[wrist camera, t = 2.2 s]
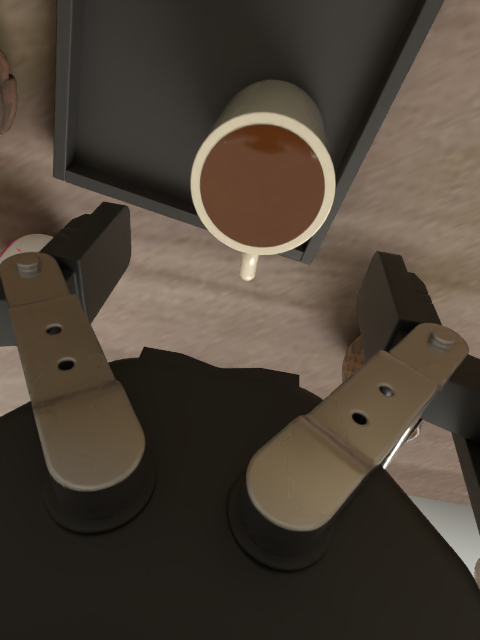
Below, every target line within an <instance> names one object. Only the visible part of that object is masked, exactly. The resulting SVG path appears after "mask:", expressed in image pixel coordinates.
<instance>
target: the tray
mask: <svg viewBox="0 0 480 640" xmlns="http://www.w3.org/2000/svg"><path fill="white" fill-rule="evenodd" d="M443 2H444V0H57V28H56V72H55V117H54V161H53V177H54V178H57V179H60V180H63V181H66V182H68V183H71V184H74V185H77V186H80V187H83V188H86V189H89V190H91V191H94V192H97V193H100V194H103V195H106V196H109V197H112V198H115V199H118V200H121V201H124V202H127V203H129V204H132V205H135V206H138V207H141V208H144V209H147V210H150V211H153V212H156V213H159V214H162V215H165V216H167V217H170V218H173V219H176V220H179V221H182V222H185V223H188V224H191V225H194V226H197V227H200V228H203V229H205V230H208V229H207V228H206V227H205V225H204V224H203V222H202V221H201V219H200V217H199V216H198V214H197V211H196V209H195V207H194V203H193V200H192V195H191V188H190V178H191V170H192V166H193V162H194V159H195V157H196V154H197V152H198V150H199V148H200V146H201V145H202V143H203V142H204V140H205V138H206V137H207V135H208V134H209V132H210V131H211V129H212V127H213V126H214V124H215V123H216V121H217V120H218V118H219V116H220V115H221V113H222V112H223V110H224V109H225V107H226V105H227V104H228V103H229V101H230V100H231V99H232V98H233V97H234V96H235V95H236V94H237V93H238V92H239V91H241V90H242V89H243V88H245V87H247V86H249V85H250V84H253V83H256V82H259V81H264V80H281V81H285V82H289V83H291V84H294V85H296V86H298V87H299V88H301V89H302V90H304V91H305V92H306V93H307V94H308V95H309V96H310V97H311V98H312V99H313V100H314V102H315V103H316V105H317V106H318V108H319V110H320V112H321V115H322V118H323V121H324V125H325V130H326V135H327V139H328V144H329V148H330V153H331V157H332V162H333V167H334V172H335V183H336V186H335V196H334V200H333V204H332V207H331V210H330V212H329V214H328V216H327V218H326V220H325V221H324V223H323V224H322V226H321V227H320V228H319V230H318V231H317V232H316V233H315V234H314V235H313V236H312V237H310V238H309V239H308V240H307V241H305V242H304V243H302V244H301V245H299V246H297V247H295V248H293V249H291V250H288V251H285V252H282V253H278V255H281V256H284V257H287V258H290V259H293V260H296V261H300V262H302V263H305V264H308V265H310V264H311V263H312V261H313V259H314V257H315V255H316V253H317V251H318V249H319V247H320V245H321V243H322V241H323V239H324V237H325V235H326V233H327V231H328V229H329V227H330V225H331V223H332V221H333V219H334V217H335V215H336V213H337V211H338V209H339V207H340V205H341V203H342V201H343V199H344V197H345V195H346V193H347V192H348V190H349V188H350V186H351V184H352V182H353V180H354V178H355V176H356V174H357V172H358V170H359V168H360V166H361V164H362V162H363V160H364V158H365V156H366V154H367V152H368V150H369V148H370V146H371V144H372V142H373V140H374V138H375V136H376V134H377V132H378V130H379V128H380V126H381V124H382V122H383V120H384V119H385V117H386V115H387V113H388V111H389V109H390V107H391V105H392V103H393V101H394V99H395V97H396V95H397V93H398V91H399V89H400V87H401V85H402V83H403V81H404V79H405V77H406V75H407V73H408V71H409V69H410V67H411V65H412V63H413V61H414V59H415V57H416V55H417V53H418V51H419V49H420V48H421V46H422V44H423V42H424V40H425V38H426V36H427V34H428V32H429V30H430V28H431V26H432V24H433V22H434V20H435V18H436V16H437V14H438V12H439V10H440V8H441V6H442V4H443ZM208 231H209V230H208Z"/></svg>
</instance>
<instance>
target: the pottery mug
mask: <svg viewBox="0 0 480 640" xmlns="http://www.w3.org/2000/svg"><path fill="white" fill-rule="evenodd" d="M9 70H10V65H9V62H8V61H7V59H6V57H5V56H4V54H3V53H2V51H1V50H0V137H1V136H2V134H3V133H4V132H7V131H8V130H9V129H10V128H11V126H12V124H13V121H14V118H15V114H16V109H17V101H18V95H17V83H16V79H15V77H14V76H13V75H11V74H9Z"/></svg>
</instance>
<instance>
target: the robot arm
mask: <svg viewBox="0 0 480 640" xmlns="http://www.w3.org/2000/svg"><path fill="white" fill-rule="evenodd" d="M130 258H131V230H130V211H129V208H128V206H125V205H120V204H114V203H108V202H103V203H101V205H100V206H99V207H98V208H97V209H96V210H95V211H94V212H93V213H92V214H91V215H90V214H84V215H82V216H79V217H77V218H75V219H72V220H71V221H70V222H69V223H68V224H67V225H66V226H65V227H64V229H62V230H61V231H60V232H59V233H58V235H56V236H55V237H54V238H53V239H51V240H50V241H49V242H48V243H47V244H46V245H45V246H44V247H43V248H42V249H41V250H40V251H39V252H24V253H19V254H15V255H12V256H10V257H8V258H6V259H5V260H3V261H2V262H1V264H0V346H17V347H18V351H19V355H20V359H21V363H22V367H23V371H24V375H25V379H26V383H27V387H28V391H29V395H30V399H31V401H30V402H28V403H26V404H24V405H22V406H20V407H18V408H17V409H15V410H13V411H11V412H9V413H7V414H5V415H3V416H1V417H0V640H480V558H479V559H478V561H477V563H476V566H475V573H474V574H475V579H474V577H473V576H472V574H471V572H470V571H469V569H468V568H467V566H466V565H465V564H464V562H463V561H462V560H461V558H460V557H459V556H458V555H457V553H456V552H455V551H454V550H453V549H452V547H450V545H449V544H448V543H447V542H446V541H445V539H444V538H443V537H442V536H441V535H440V533H439V532H438V531H437V530H436V529H435V527H434V526H433V525H432V524H431V523H430V522H429V520H428V519H427V518H426V517H425V516H424V515H423V514H422V512H421V511H420V510H419V509H418V507H417V506H416V505H415V504H414V503H413V502H412V501H411V499H410V498H409V497H408V496H407V494H406V493H405V492H404V491H403V490H402V489H401V487H400V486H399V485H398V484H397V483H396V481H395V480H394V479H393V478H392V477H391V476H390V474H389V473H388V472H387V471H386V469H387V467H388V466H389V464H390V463H391V462H392V460H393V459H394V458H395V456H396V455H397V454H398V452H399V451H400V450H401V449H402V447H403V446H404V445H405V443H406V442H407V441H408V440H409V438H410V437H411V436H412V434H413V433H414V432H415V431H416V429H417V428H418V427H419V425H420V424H421V423H422V421H423V420H425V421H427V422H429V423H432V424H434V425H436V426H438V427H441V428H443V429H445V430H448V431H450V432H452V436H453V440H454V443H455V447H456V451H457V454H458V458H459V462H460V465H461V469H462V472H463V476H464V480H465V483H466V487H467V491H468V494H469V498H470V502H471V505H472V509H473V512H474V516H475V519H476V523H477V527H478V530H479V534H480V359H478V358H475V357H473V356H471V355H469V354H468V353H469V348H468V345H467V343H466V342H465V340H464V339H463V338H462V337H461V336H460V335H459V334H457V333H456V332H454V331H453V330H451V329H449V328H447V327H444V326H442V324H441V322H440V319H439V317H438V315H437V312H436V310H435V308H434V305H433V304H431V303H432V301H431V298H430V296H429V295H428V291H427V289H426V287H425V284H424V283H423V282H422V281H421V280H420V279H419V278H418V277H417V276H416V275H415V274H414V273H410V272H407V269H406V267H405V264H404V261H403V259H402V257H401V255H396V254H390V253H385V252H379V251H377V252H376V253H375V254H374V256H373V258H372V260H371V263H370V265H369V268H368V270H367V273H366V276H365V278H364V281H363V283H362V286H361V288H360V291H359V294H358V298H357V315H358V321H359V326H360V332H361V338H362V343H363V349H364V355H365V361H366V363H365V364H363V365H362V366H361V367H360V368H359V369H358V370H357V371H356V372H354V373H353V374H352V375H351V376H350V377H349V378H348V379H347V380H345V381H344V382H343V383H342V384H341V385H340V386H339V387H338V388H336V389H335V390H334V391H333V392H332V393H331V394H330V395H329V396H328V397H326V398H325V399H324V400H322V399H321V398H320V397H318V396H316V395H315V394H313V393H311V392H309V391H307V390H306V389H303V388H301V387H299V375H297V374H291V373H286V372H280V371H275V370H269V369H264V368H218V367H215V366H212V365H210V364H207V363H205V362H202V361H200V360H197V359H194V358H192V357H189V356H187V355H184V354H181V353H176V352H170V351H165V350H159V349H154V348H148V347H144V348H143V350H142V352H141V354H140V357H139V358H127V359H121V360H116V361H112V362H109V363H108V362H107V360H106V357H105V355H104V353H103V351H102V349H101V346H100V344H99V342H98V340H97V337H96V335H95V333H94V331H93V329H92V326H91V323H92V321H93V320H94V318H95V317H96V315H97V314H98V312H99V311H100V309H101V307H102V306H103V304H104V303H105V301H106V300H107V298H108V297H109V295H110V294H111V292H112V291H113V289H114V287H115V286H116V284H117V283H118V281H119V280H120V278H121V277H122V275H123V274H124V272H125V271H126V269H127V267H128V265H129V262H130Z"/></svg>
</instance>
